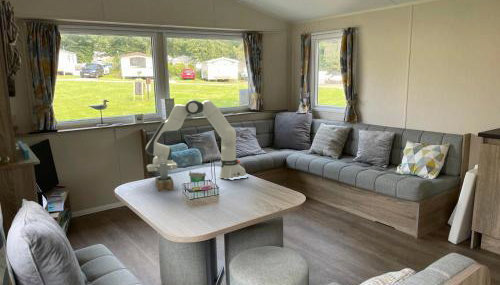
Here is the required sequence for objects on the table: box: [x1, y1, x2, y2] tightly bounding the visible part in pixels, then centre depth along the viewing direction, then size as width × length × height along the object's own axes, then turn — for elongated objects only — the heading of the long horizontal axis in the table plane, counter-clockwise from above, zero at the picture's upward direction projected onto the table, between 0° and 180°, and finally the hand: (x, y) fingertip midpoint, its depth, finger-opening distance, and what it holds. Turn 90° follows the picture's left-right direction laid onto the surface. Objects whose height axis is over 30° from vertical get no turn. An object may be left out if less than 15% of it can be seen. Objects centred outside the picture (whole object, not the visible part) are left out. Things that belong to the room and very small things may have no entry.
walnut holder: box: [154, 175, 175, 192], centre depth 254 cm, size 10×14×6 cm
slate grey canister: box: [159, 163, 169, 181], centre depth 253 cm, size 5×5×12 cm
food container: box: [188, 170, 207, 183], centre depth 257 cm, size 12×6×10 cm, turn 73°
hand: (164, 169), depth 252 cm, fingers open, 8 cm apart
